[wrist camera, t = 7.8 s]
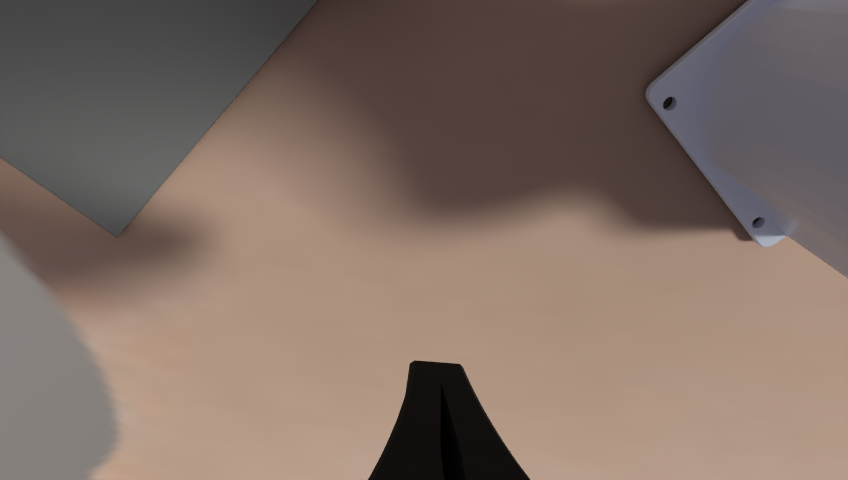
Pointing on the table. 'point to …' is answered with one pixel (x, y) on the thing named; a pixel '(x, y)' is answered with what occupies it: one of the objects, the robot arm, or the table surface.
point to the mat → (124, 89)
